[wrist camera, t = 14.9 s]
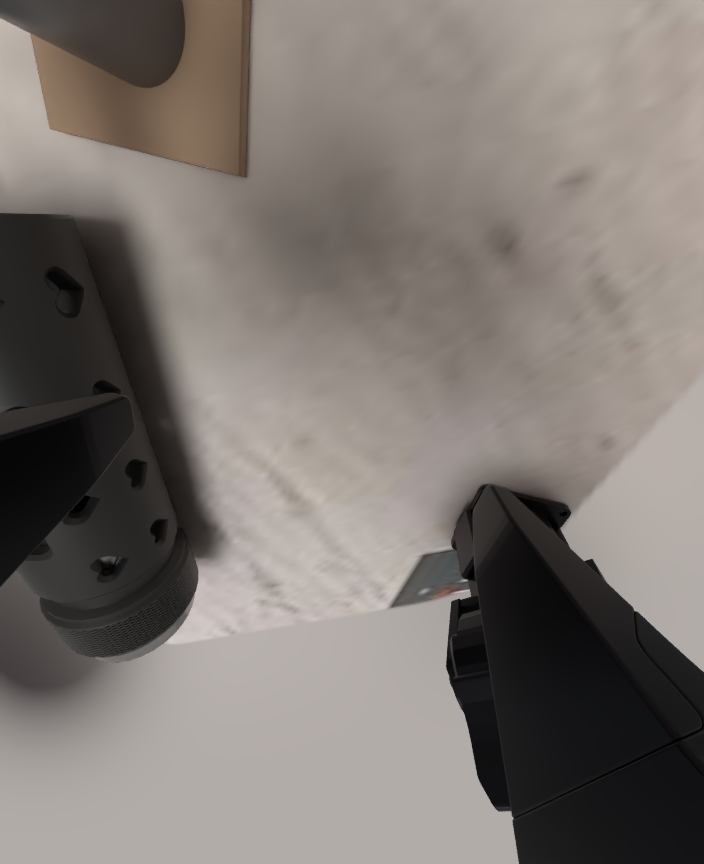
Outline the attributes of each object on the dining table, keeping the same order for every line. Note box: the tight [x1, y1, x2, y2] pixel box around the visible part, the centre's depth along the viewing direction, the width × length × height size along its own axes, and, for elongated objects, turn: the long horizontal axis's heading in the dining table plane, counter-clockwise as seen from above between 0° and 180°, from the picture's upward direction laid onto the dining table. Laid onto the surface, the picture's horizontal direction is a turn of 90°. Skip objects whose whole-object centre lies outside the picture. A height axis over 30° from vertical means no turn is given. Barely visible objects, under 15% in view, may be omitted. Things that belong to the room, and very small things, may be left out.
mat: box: [30, 0, 251, 177], centre depth 14 cm, size 9×9×1 cm
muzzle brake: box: [0, 213, 198, 663], centre depth 22 cm, size 10×28×10 cm, turn 179°
